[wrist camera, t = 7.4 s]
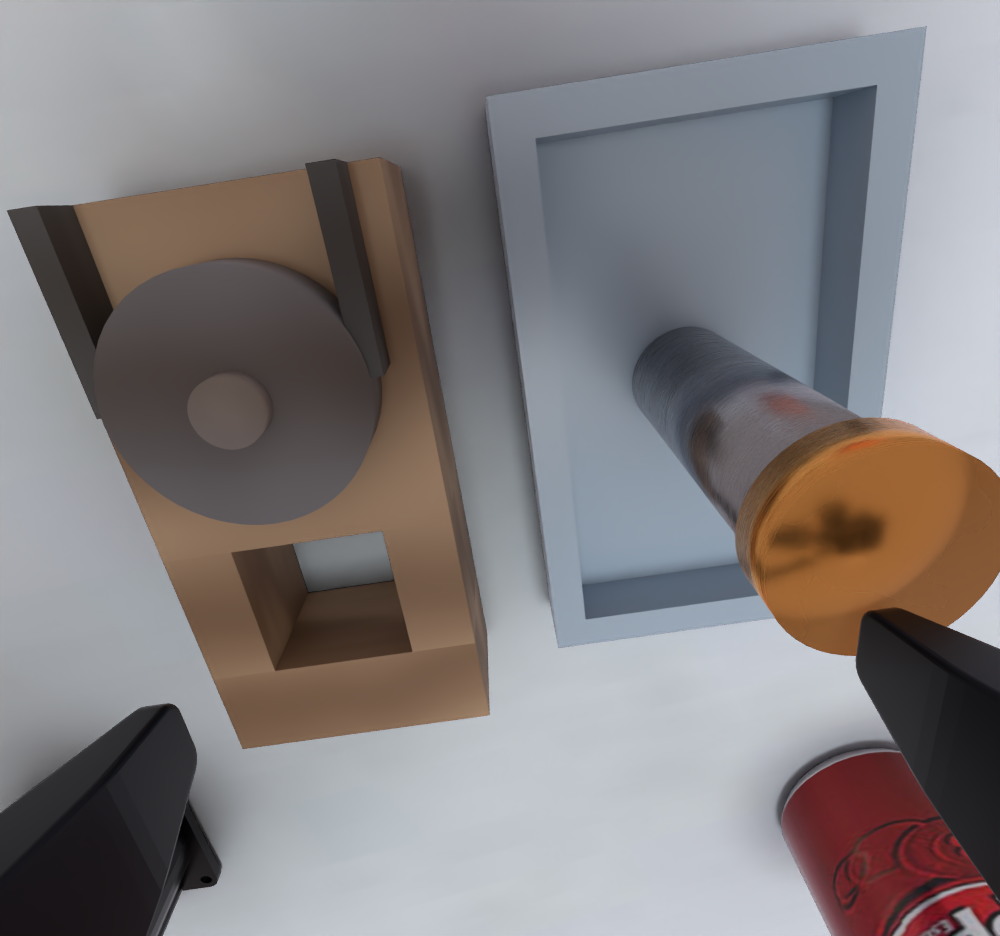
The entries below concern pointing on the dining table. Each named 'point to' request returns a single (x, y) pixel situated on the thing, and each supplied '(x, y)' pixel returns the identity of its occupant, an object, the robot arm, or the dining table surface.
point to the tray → (690, 290)
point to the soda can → (882, 852)
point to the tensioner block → (280, 434)
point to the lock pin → (822, 492)
